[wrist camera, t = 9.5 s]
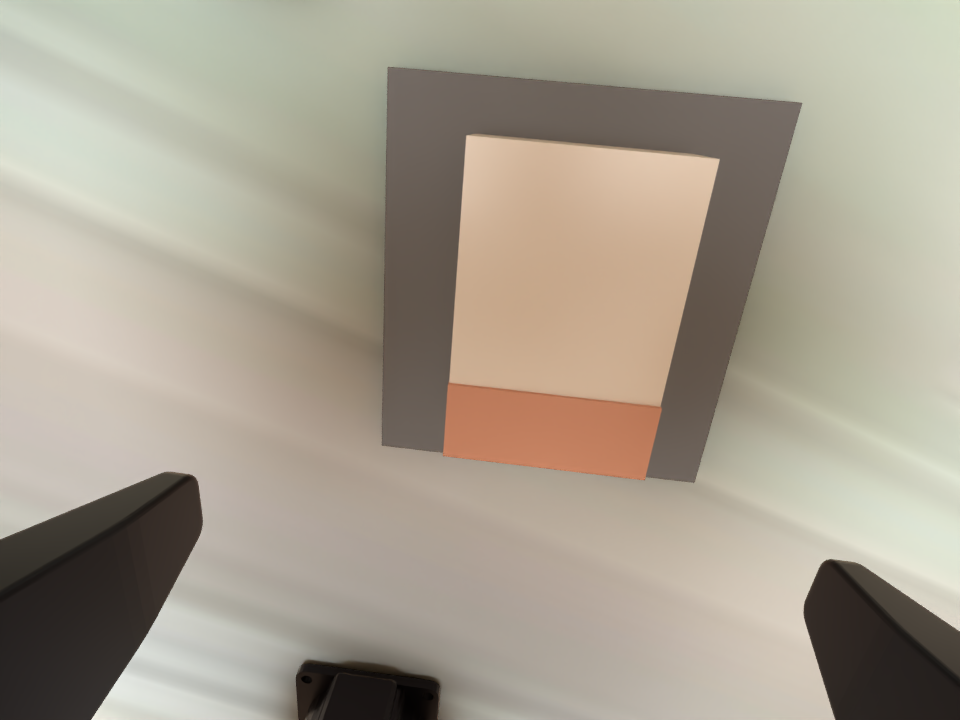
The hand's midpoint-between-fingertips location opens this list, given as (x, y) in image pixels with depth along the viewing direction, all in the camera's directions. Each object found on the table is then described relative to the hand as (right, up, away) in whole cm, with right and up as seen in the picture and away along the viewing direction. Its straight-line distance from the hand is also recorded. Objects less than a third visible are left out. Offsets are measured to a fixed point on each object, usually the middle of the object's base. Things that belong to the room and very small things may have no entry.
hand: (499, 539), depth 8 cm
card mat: (+2, +5, +10) cm, 11 cm away
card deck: (+2, +4, +9) cm, 11 cm away
